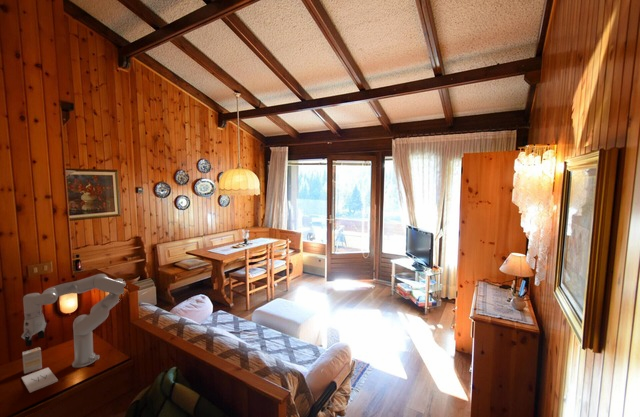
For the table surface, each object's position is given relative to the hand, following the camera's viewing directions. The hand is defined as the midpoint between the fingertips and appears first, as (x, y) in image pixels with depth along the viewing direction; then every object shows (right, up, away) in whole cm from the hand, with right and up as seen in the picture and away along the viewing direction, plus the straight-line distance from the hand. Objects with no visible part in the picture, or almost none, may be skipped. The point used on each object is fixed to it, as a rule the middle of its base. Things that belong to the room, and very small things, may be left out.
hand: (35, 341), depth 175 cm
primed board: (+5, -22, -2) cm, 23 cm away
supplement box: (-8, -22, +7) cm, 24 cm away
